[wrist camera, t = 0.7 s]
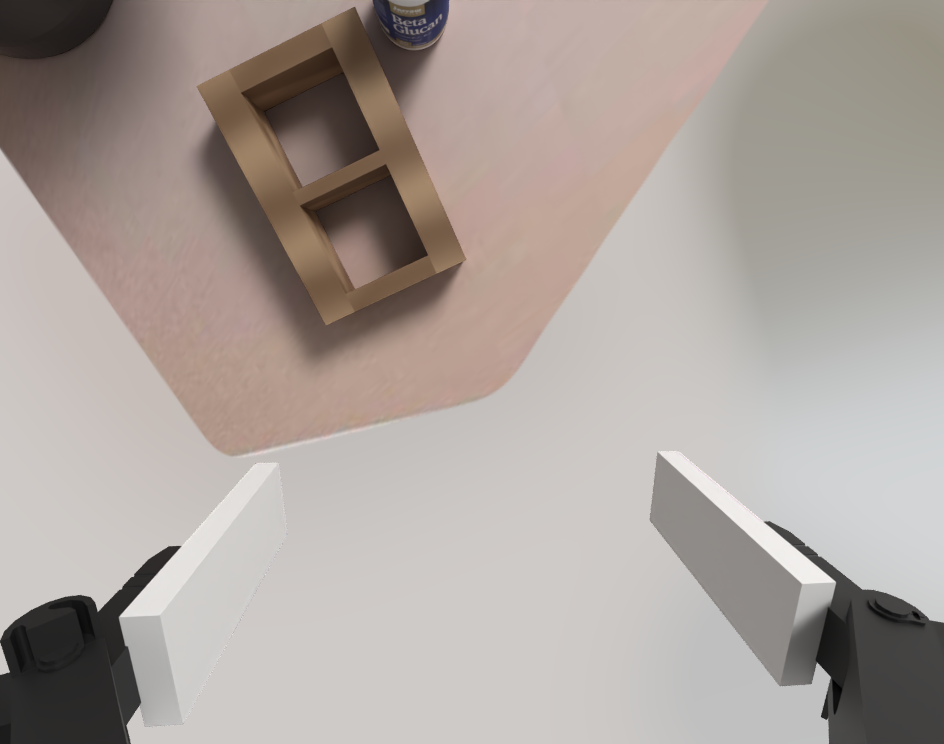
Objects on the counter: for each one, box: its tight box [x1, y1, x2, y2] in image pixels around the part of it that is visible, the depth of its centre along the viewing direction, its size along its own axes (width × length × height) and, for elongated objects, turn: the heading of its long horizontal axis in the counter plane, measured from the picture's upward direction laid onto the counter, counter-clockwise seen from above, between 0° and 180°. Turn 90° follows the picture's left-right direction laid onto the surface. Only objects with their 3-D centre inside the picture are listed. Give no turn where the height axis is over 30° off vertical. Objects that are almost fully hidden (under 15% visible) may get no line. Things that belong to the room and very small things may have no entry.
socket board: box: [197, 7, 466, 325], centre depth 34 cm, size 18×12×4 cm, turn 24°
